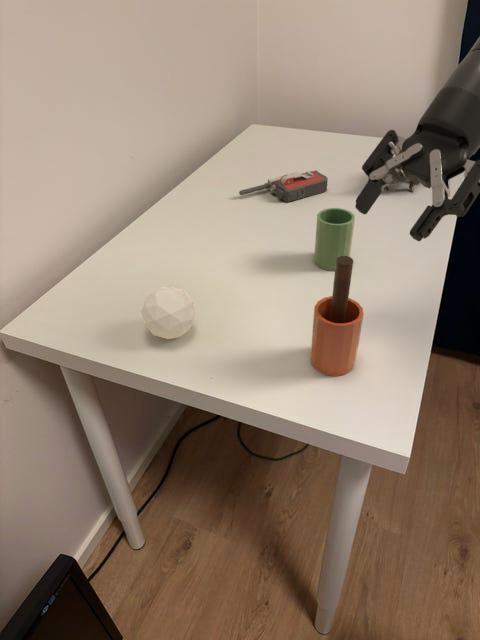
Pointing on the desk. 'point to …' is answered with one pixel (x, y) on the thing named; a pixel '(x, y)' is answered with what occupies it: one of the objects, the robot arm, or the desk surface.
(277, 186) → the walkie-talkie
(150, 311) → the geometric ball
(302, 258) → the desk surface
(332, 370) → the terracotta cup
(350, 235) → the green cup
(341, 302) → the muddler
